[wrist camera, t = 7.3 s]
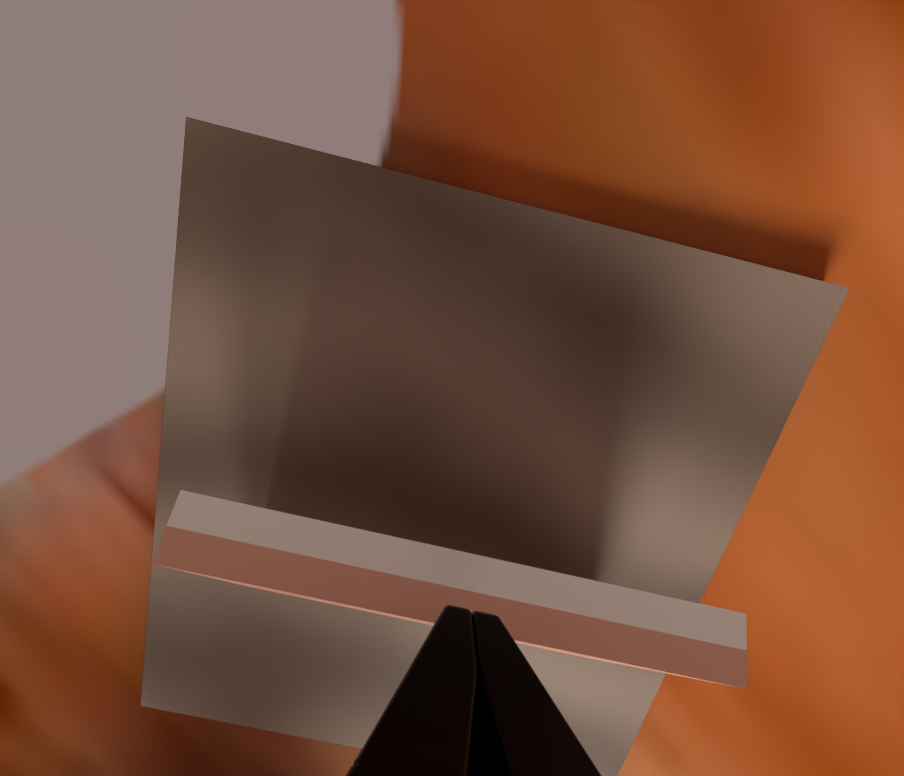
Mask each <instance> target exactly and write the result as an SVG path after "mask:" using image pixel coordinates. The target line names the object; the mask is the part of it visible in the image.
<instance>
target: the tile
mask: <svg viewBox="0 0 904 776" xmlns="http://www.w3.org/2000/svg"><path fill="white" fill-rule="evenodd" d="M152 564H156V565H160V566H164V567H168V568H172V569H176V570H180V571H185V572H189V573H193V574H197V575H201V576H205V577H209V578H214V579H218V580H222V581H226V582H230V583H234V584H238V585H243V586H248V587H252V588H257V589H262V590H267V591H271V592H276V593H281V594H286V595H290V596H295V597H300V598H305V599H309V600H314V601H319V602H324V603H328V604H333V605H338V606H343V607H347V608H352V609H357V610H362V611H366V612H371V613H376V614H381V615H385V616H390V617H395V618H400V619H404V620H409V621H414V622H419V623H423V624H428V625H434V624H435V622H436V620H437V619H438V617H439V615H440V613H441V612H442V610H443V608H444V607H445V606H446V605H453V606H458V607H462V608H467V609H469V610H470V611H471V613H472V612H473V611H481V612H486V613H491V614H495V615H497V616H498V617H499V618H500V619H501V620H502V622H503V624H504V625H505V627H506V628H507V630H508V631H509V633H510V634H511V636H512V638H513V639H514V641H515V642H516V643H518V644H523V645H528V646H533V647H537V648H542V649H547V650H552V651H556V652H561V653H566V654H571V655H575V656H580V657H585V658H590V659H595V660H600V661H605V662H610V663H615V664H620V665H626V666H631V667H636V668H641V669H646V670H651V671H657V672H662V673H667V674H672V675H677V676H682V677H687V678H693V679H698V680H703V681H708V682H713V683H718V684H724V685H729V686H734V687H739V688H744V689H747V644H746V614H745V613H741V612H736V611H731V610H727V609H722V608H718V607H713V606H709V605H704V604H699V603H695V602H690V601H686V600H681V599H677V598H672V597H667V596H663V595H658V594H654V593H649V592H645V591H640V590H636V589H631V588H626V587H622V586H617V585H613V584H608V583H604V582H599V581H594V580H590V579H585V578H581V577H576V576H572V575H567V574H562V573H558V572H553V571H549V570H544V569H540V568H535V567H531V566H526V565H521V564H517V563H512V562H508V561H503V560H499V559H494V558H489V557H485V556H480V555H476V554H471V553H467V552H462V551H457V550H453V549H448V548H444V547H439V546H435V545H430V544H426V543H421V542H416V541H412V540H407V539H403V538H398V537H394V536H389V535H384V534H380V533H375V532H371V531H366V530H362V529H357V528H352V527H348V526H343V525H339V524H334V523H330V522H325V521H321V520H316V519H311V518H307V517H302V516H298V515H293V514H289V513H284V512H279V511H275V510H270V509H266V508H261V507H257V506H252V505H247V504H243V503H238V502H234V501H229V500H225V499H220V498H215V497H211V496H206V495H202V494H197V493H193V492H188V491H184V490H180V492H179V495H178V498H177V500H176V503H175V505H174V508H173V510H172V513H171V516H170V518H169V521H168V523H167V526H166V528H165V531H164V534H163V536H162V539H161V541H160V544H159V546H158V549H157V552H156V554H155V557H154V559H153V562H152Z"/></svg>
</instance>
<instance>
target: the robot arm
mask: <svg viewBox="0 0 904 776" xmlns="http://www.w3.org/2000/svg"><path fill="white" fill-rule="evenodd" d="M346 776H602V775H601V774H600V772H599V771H598V769H597V768H596V766H595V765H594V763H593V761H592V760H591V758H590V757H589V755H588V754H587V752H586V751H585V749H584V747H583V746H582V744H581V743H580V741H579V740H578V738H577V737H576V735H575V734H574V732H573V730H572V729H571V727H570V726H569V724H568V723H567V721H566V720H565V718H564V717H563V715H562V713H561V712H560V710H559V709H558V707H557V706H556V704H555V703H554V701H553V699H552V698H551V696H550V695H549V693H548V692H547V690H546V689H545V687H544V686H543V684H542V682H541V681H540V679H539V678H538V676H537V675H536V673H535V672H534V670H533V669H532V667H531V665H530V664H529V662H528V661H527V659H526V658H525V656H524V655H523V653H522V651H521V650H520V648H519V647H518V645H517V644H516V642H515V641H514V639H513V638H512V636H511V634H510V633H509V631H508V630H507V628H506V627H505V625H504V624H503V622H502V620H501V619H500V618H499V617H498V616H497V615H495V614H491V613H486V612H481V611H473V612H472V613H471V611H470V610H469V609H467V608H462V607H458V606H453V605H446V606H445V607H444V608H443V610H442V612H441V613H440V615H439V617H438V619H437V620H436V622H435V624H434V625H433V627H432V629H431V631H430V632H429V634H428V636H427V638H426V639H425V641H424V643H423V644H422V646H421V648H420V650H419V651H418V653H417V655H416V656H415V658H414V660H413V662H412V663H411V665H410V667H409V669H408V670H407V672H406V674H405V675H404V677H403V679H402V681H401V682H400V684H399V686H398V688H397V689H396V691H395V693H394V694H393V696H392V698H391V700H390V701H389V703H388V705H387V706H386V708H385V710H384V712H383V713H382V715H381V717H380V719H379V720H378V722H377V724H376V725H375V727H374V729H373V731H372V732H371V734H370V736H369V737H368V739H367V741H366V743H365V744H364V746H363V748H362V750H361V751H360V753H359V755H358V756H357V758H356V760H355V762H354V765H353V766H351V768H350V769H349V771H348V773H347V775H346Z"/></svg>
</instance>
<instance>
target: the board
mask: <svg viewBox="0 0 904 776" xmlns="http://www.w3.org/2000/svg"><path fill="white" fill-rule="evenodd" d="M181 179H182V180H181V191H180V204H179V216H178V230H177V243H176V256H175V268H174V281H173V294H172V307H171V319H170V332H169V345H168V358H167V371H166V384H165V397H164V410H163V422H162V435H161V448H160V461H159V474H158V487H157V500H156V513H155V525H154V538H153V551H152V562H153V559H154V557H155V554H156V552H157V549H158V546H159V544H160V541H161V539H162V536H163V534H164V531H165V528H166V526H167V523H168V521H169V518H170V516H171V513H172V510H173V508H174V505H175V503H176V500H177V498H178V495H179V492H180V490H184V491H188V492H193V493H197V494H202V495H206V496H211V497H215V498H220V499H225V500H229V501H234V502H238V503H243V504H247V505H252V506H257V507H261V508H266V509H270V510H275V511H279V512H284V513H289V514H293V515H298V516H302V517H307V518H311V519H316V520H321V521H325V522H330V523H334V524H339V525H343V526H348V527H352V528H357V529H362V530H366V531H371V532H375V533H380V534H384V535H389V536H394V537H398V538H403V539H407V540H412V541H416V542H421V543H426V544H430V545H435V546H439V547H444V548H448V549H453V550H457V551H462V552H467V553H471V554H476V555H480V556H485V557H489V558H494V559H499V560H503V561H508V562H512V563H517V564H521V565H526V566H531V567H535V568H540V569H544V570H549V571H553V572H558V573H562V574H567V575H572V576H576V577H581V578H585V579H590V580H594V581H599V582H604V583H608V584H613V585H617V586H622V587H626V588H631V589H636V590H640V591H645V592H649V593H654V594H658V595H663V596H667V597H672V598H677V599H681V600H686V601H690V602H695V603H700V601H701V599H702V597H703V595H704V593H705V590H706V588H707V586H708V584H709V582H710V580H711V578H712V576H713V574H714V572H715V569H716V567H717V565H718V563H719V561H720V559H721V557H722V555H723V553H724V551H725V548H726V546H727V544H728V542H729V540H730V538H731V536H732V534H733V532H734V530H735V527H736V525H737V523H738V521H739V519H740V517H741V515H742V513H743V511H744V509H745V506H746V504H747V502H748V500H749V498H750V496H751V494H752V492H753V490H754V488H755V486H756V483H757V481H758V479H759V477H760V475H761V473H762V471H763V469H764V467H765V465H766V462H767V460H768V458H769V456H770V454H771V452H772V450H773V448H774V446H775V444H776V441H777V439H778V437H779V435H780V433H781V431H782V429H783V427H784V425H785V423H786V420H787V418H788V416H789V414H790V412H791V410H792V408H793V406H794V404H795V402H796V399H797V397H798V395H799V393H800V391H801V389H802V387H803V385H804V383H805V381H806V378H807V376H808V374H809V372H810V370H811V368H812V366H813V364H814V362H815V360H816V357H817V355H818V353H819V351H820V349H821V347H822V345H823V343H824V341H825V339H826V336H827V334H828V332H829V330H830V328H831V326H832V324H833V322H834V320H835V318H836V315H837V313H838V311H839V309H840V307H841V305H842V303H843V301H844V299H845V297H846V295H847V292H848V290H849V288H848V287H844V286H840V285H836V284H832V283H828V282H825V281H821V280H817V279H813V278H809V277H805V276H801V275H797V274H793V273H790V272H786V271H782V270H778V269H774V268H770V267H766V266H762V265H759V264H755V263H751V262H747V261H743V260H739V259H735V258H731V257H728V256H724V255H720V254H716V253H712V252H708V251H704V250H700V249H696V248H693V247H689V246H685V245H681V244H677V243H673V242H669V241H665V240H662V239H658V238H654V237H650V236H646V235H642V234H638V233H634V232H631V231H627V230H623V229H619V228H615V227H611V226H607V225H603V224H600V223H596V222H592V221H588V220H584V219H580V218H576V217H572V216H568V215H565V214H561V213H557V212H553V211H549V210H545V209H541V208H537V207H534V206H530V205H526V204H522V203H518V202H514V201H510V200H506V199H503V198H499V197H495V196H491V195H487V194H483V193H479V192H475V191H471V190H468V189H464V188H460V187H456V186H452V185H448V184H444V183H440V182H437V181H433V180H429V179H425V178H421V177H417V176H413V175H409V174H406V173H402V172H398V171H394V170H390V169H386V168H382V167H378V166H374V165H371V164H367V163H363V162H359V161H355V160H351V159H347V158H343V157H339V156H336V155H331V154H328V153H324V152H320V151H316V150H312V149H308V148H305V147H301V146H297V145H293V144H289V143H285V142H281V141H278V140H274V139H270V138H266V137H262V136H258V135H254V134H250V133H246V132H242V131H239V130H235V129H231V128H227V127H223V126H219V125H215V124H212V123H208V122H204V121H200V120H196V119H192V118H188V117H186V126H185V139H184V152H183V165H182V178H181ZM432 627H433V625H428V624H423V623H419V622H414V621H409V620H404V619H400V618H395V617H390V616H385V615H381V614H376V613H371V612H366V611H362V610H357V609H352V608H347V607H343V606H338V605H333V604H328V603H324V602H319V601H314V600H309V599H305V598H300V597H295V596H290V595H286V594H281V593H276V592H271V591H267V590H262V589H257V588H252V587H248V586H243V585H238V584H234V583H230V582H226V581H222V580H218V579H214V578H209V577H205V576H201V575H197V574H193V573H189V572H185V571H180V570H176V569H172V568H168V567H164V566H160V565H156V564H151V577H150V590H149V603H148V616H147V628H146V641H145V654H144V667H143V680H142V693H141V706H144V707H149V708H154V709H159V710H164V711H169V712H174V713H180V714H185V715H190V716H195V717H200V718H205V719H210V720H215V721H220V722H226V723H231V724H236V725H241V726H246V727H251V728H256V729H261V730H266V731H271V732H277V733H282V734H287V735H292V736H297V737H302V738H307V739H312V740H317V741H323V742H328V743H333V744H338V745H343V746H348V747H353V748H358V749H362V748H363V746H364V744H365V743H366V741H367V739H368V737H369V736H370V734H371V732H372V731H373V729H374V727H375V725H376V724H377V722H378V720H379V719H380V717H381V715H382V713H383V712H384V710H385V708H386V706H387V705H388V703H389V701H390V700H391V698H392V696H393V694H394V693H395V691H396V689H397V688H398V686H399V684H400V682H401V681H402V679H403V677H404V675H405V674H406V672H407V670H408V669H409V667H410V665H411V663H412V662H413V660H414V658H415V656H416V655H417V653H418V651H419V650H420V648H421V646H422V644H423V643H424V641H425V639H426V638H427V636H428V634H429V632H430V631H431V629H432ZM516 644H517V645H518V647H519V648H520V650H521V651H522V653H523V655H524V656H525V658H526V659H527V661H528V662H529V664H530V665H531V667H532V669H533V670H534V672H535V673H536V675H537V676H538V678H539V679H540V681H541V682H542V684H543V686H544V687H545V689H546V690H547V692H548V693H549V695H550V696H551V698H552V699H553V701H554V703H555V704H556V706H557V707H558V709H559V710H560V712H561V713H562V715H563V717H564V718H565V720H566V721H567V723H568V724H569V726H570V727H571V729H572V730H573V732H574V734H575V735H576V737H577V738H578V740H579V741H580V743H581V744H582V746H583V747H584V749H585V751H586V752H587V754H588V755H589V757H590V758H591V760H592V761H593V763H594V765H595V766H596V768H597V769H598V771H599V772H600V774H601V775H602V776H617V775H618V773H619V771H620V769H621V767H622V765H623V763H624V760H625V758H626V756H627V754H628V752H629V750H630V748H631V746H632V744H633V742H634V739H635V737H636V735H637V733H638V731H639V729H640V727H641V725H642V723H643V721H644V718H645V716H646V714H647V712H648V710H649V708H650V706H651V704H652V702H653V700H654V697H655V695H656V693H657V691H658V689H659V687H660V685H661V683H662V681H663V679H664V676H665V674H666V673H662V672H657V671H651V670H646V669H641V668H636V667H631V666H626V665H620V664H615V663H610V662H605V661H600V660H595V659H590V658H585V657H580V656H575V655H571V654H566V653H561V652H556V651H552V650H547V649H542V648H537V647H533V646H528V645H523V644H518V643H516Z"/></svg>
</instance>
